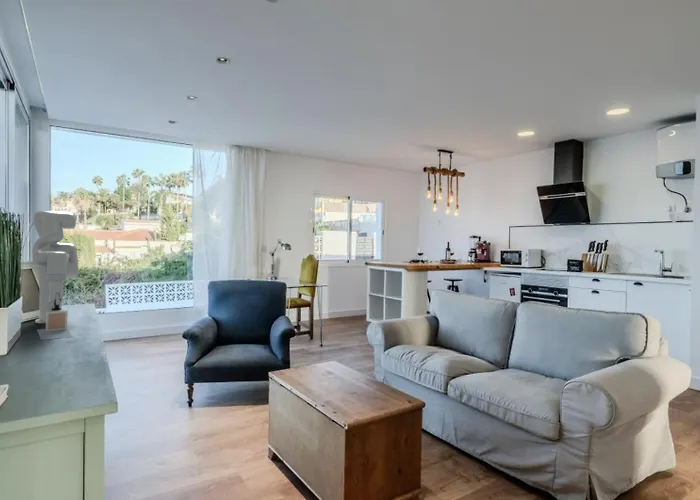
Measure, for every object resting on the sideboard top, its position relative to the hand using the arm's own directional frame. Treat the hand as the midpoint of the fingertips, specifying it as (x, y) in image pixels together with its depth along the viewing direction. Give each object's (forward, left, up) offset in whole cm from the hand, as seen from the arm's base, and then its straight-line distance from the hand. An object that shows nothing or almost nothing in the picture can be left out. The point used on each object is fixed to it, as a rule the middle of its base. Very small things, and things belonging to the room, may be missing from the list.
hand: (56, 316), depth 194 cm
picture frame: (+2, 0, -6) cm, 6 cm away
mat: (+9, -1, -6) cm, 11 cm away
